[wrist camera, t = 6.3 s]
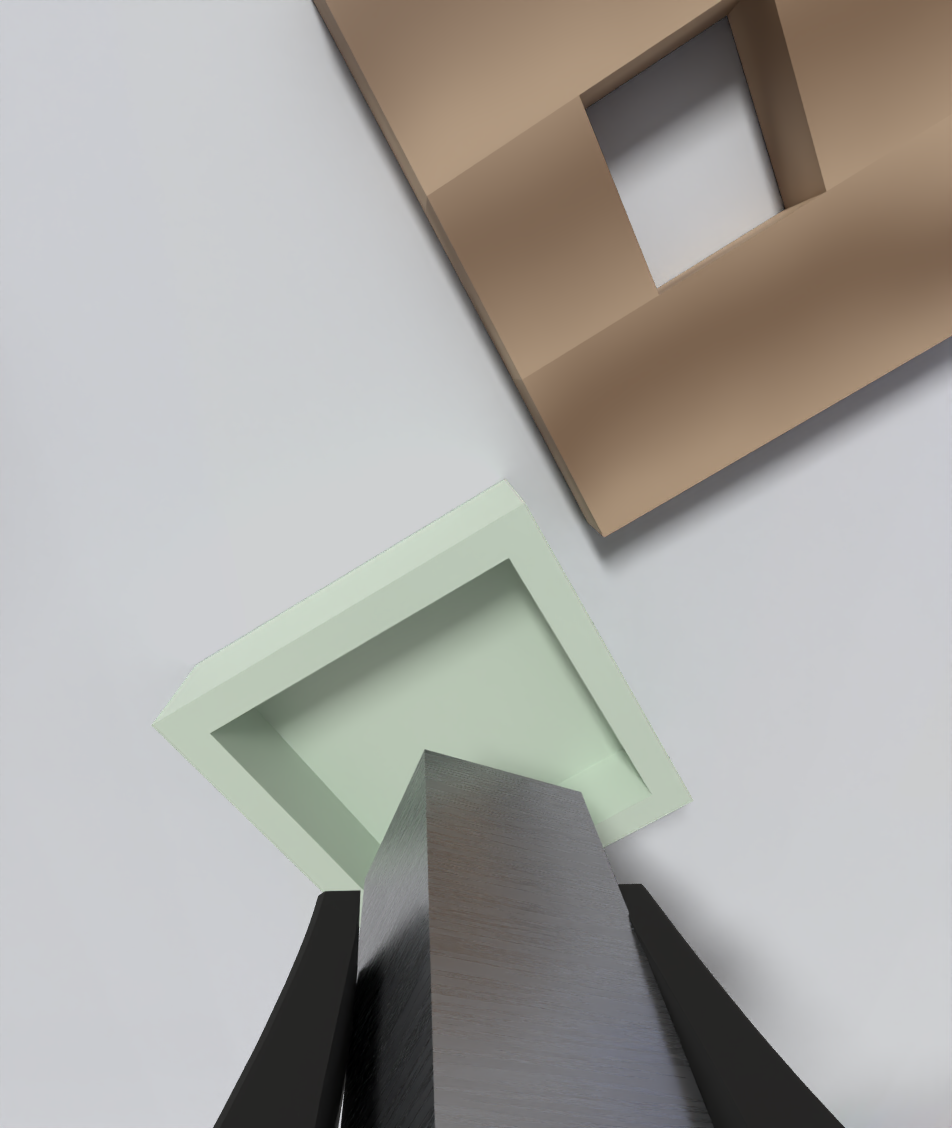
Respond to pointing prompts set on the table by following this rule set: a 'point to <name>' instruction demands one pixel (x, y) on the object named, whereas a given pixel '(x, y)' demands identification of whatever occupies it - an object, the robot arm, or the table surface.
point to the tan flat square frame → (607, 241)
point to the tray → (420, 695)
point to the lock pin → (505, 970)
